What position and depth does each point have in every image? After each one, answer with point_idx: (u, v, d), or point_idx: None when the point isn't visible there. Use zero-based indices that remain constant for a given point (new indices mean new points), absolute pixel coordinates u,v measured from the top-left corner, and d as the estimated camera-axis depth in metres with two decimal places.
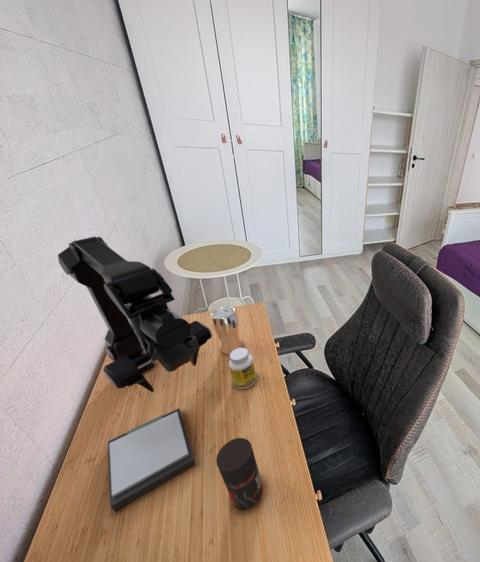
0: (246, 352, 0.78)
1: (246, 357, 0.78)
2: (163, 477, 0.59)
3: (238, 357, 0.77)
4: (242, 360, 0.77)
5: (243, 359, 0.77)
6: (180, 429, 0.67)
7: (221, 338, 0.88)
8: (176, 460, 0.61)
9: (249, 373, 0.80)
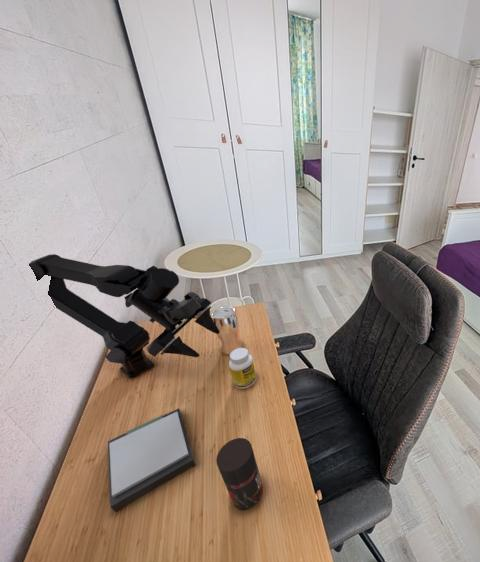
0: (246, 352, 0.78)
1: (246, 357, 0.78)
2: (163, 477, 0.59)
3: (238, 357, 0.77)
4: (242, 360, 0.77)
5: (243, 359, 0.77)
6: (180, 429, 0.67)
7: (221, 338, 0.88)
8: (176, 460, 0.61)
9: (249, 373, 0.80)
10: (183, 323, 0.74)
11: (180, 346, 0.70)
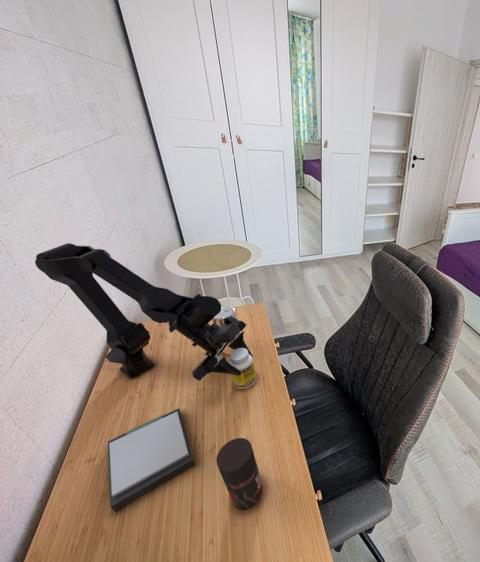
0: (246, 352, 0.78)
1: (246, 357, 0.78)
2: (163, 477, 0.59)
3: (238, 357, 0.77)
4: (242, 360, 0.77)
5: (243, 359, 0.77)
6: (180, 429, 0.67)
7: None
8: (176, 460, 0.61)
9: (249, 373, 0.80)
10: (222, 346, 0.77)
11: (225, 366, 0.74)
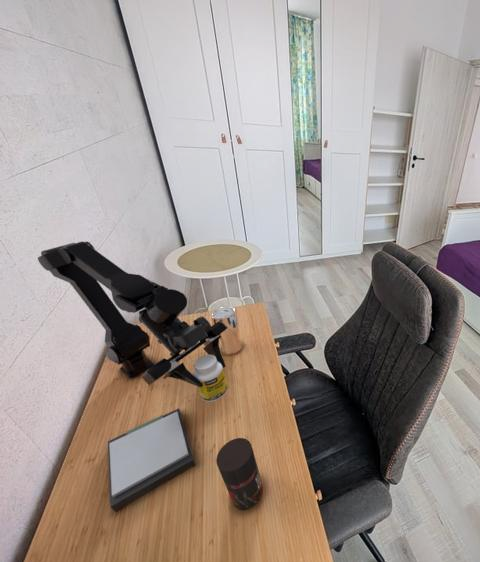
0: (213, 361, 0.66)
1: (211, 368, 0.66)
2: (163, 477, 0.59)
3: (202, 366, 0.65)
4: (205, 370, 0.65)
5: (206, 370, 0.65)
6: (180, 429, 0.67)
7: (221, 338, 0.88)
8: (176, 460, 0.61)
9: (214, 387, 0.67)
10: (190, 349, 0.67)
11: (182, 374, 0.63)
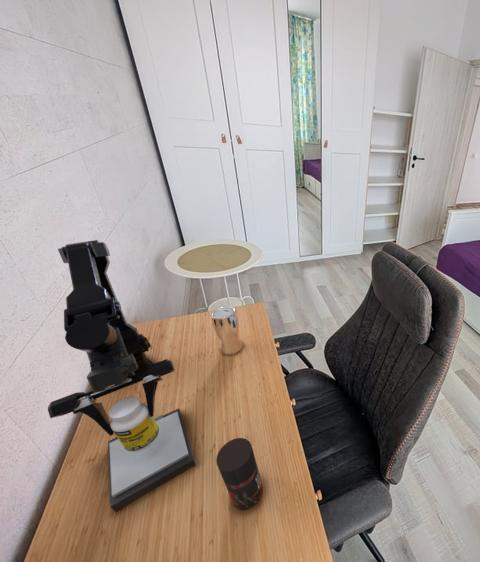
0: (129, 411, 0.55)
1: (123, 418, 0.54)
2: (163, 477, 0.59)
3: (114, 413, 0.54)
4: (115, 420, 0.54)
5: (116, 419, 0.54)
6: (180, 429, 0.67)
7: (221, 338, 0.88)
8: (176, 460, 0.61)
9: (128, 439, 0.56)
10: (119, 386, 0.57)
11: (91, 416, 0.53)
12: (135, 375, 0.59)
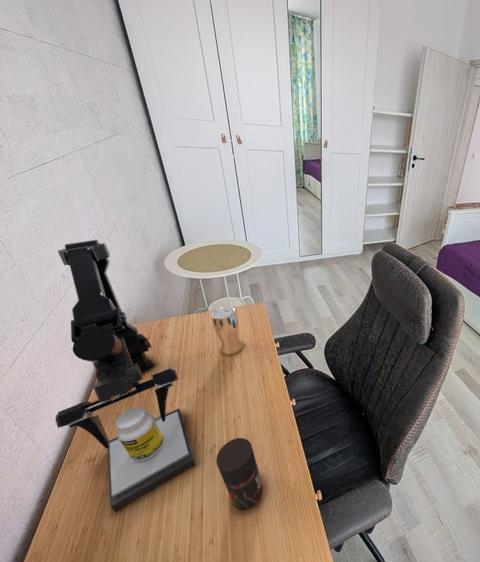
0: (135, 421, 0.57)
1: (129, 428, 0.56)
2: (163, 477, 0.59)
3: (121, 423, 0.56)
4: (122, 430, 0.56)
5: (123, 429, 0.56)
6: (180, 429, 0.67)
7: (221, 338, 0.88)
8: (176, 460, 0.61)
9: (134, 448, 0.58)
10: (124, 395, 0.59)
11: (87, 429, 0.54)
12: (140, 384, 0.60)
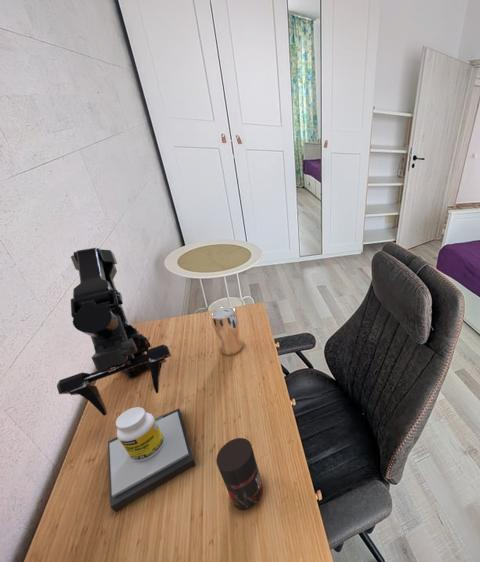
0: (135, 421, 0.57)
1: (129, 428, 0.56)
2: (163, 477, 0.59)
3: (121, 423, 0.56)
4: (122, 430, 0.56)
5: (123, 429, 0.56)
6: (180, 429, 0.67)
7: (221, 338, 0.88)
8: (176, 460, 0.61)
9: (134, 448, 0.58)
10: (120, 368, 0.64)
11: (86, 397, 0.59)
12: (135, 358, 0.65)
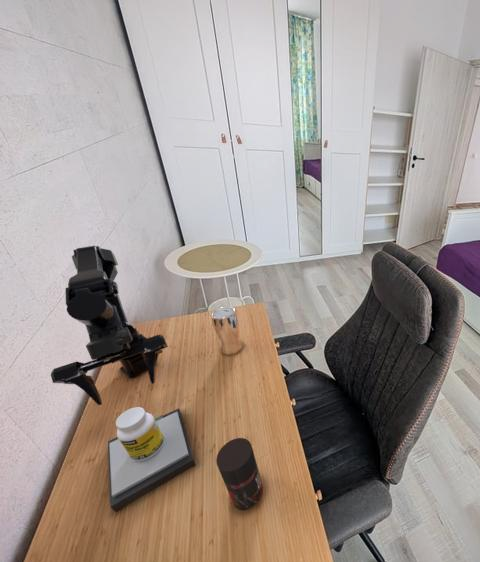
0: (135, 421, 0.57)
1: (129, 428, 0.56)
2: (163, 477, 0.59)
3: (121, 423, 0.56)
4: (122, 430, 0.56)
5: (123, 429, 0.56)
6: (180, 429, 0.67)
7: (221, 338, 0.88)
8: (176, 460, 0.61)
9: (134, 448, 0.58)
10: (116, 357, 0.63)
11: (81, 386, 0.58)
12: (130, 348, 0.64)
